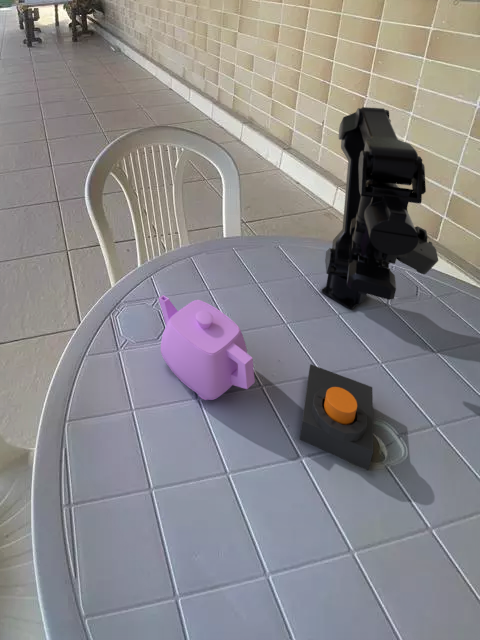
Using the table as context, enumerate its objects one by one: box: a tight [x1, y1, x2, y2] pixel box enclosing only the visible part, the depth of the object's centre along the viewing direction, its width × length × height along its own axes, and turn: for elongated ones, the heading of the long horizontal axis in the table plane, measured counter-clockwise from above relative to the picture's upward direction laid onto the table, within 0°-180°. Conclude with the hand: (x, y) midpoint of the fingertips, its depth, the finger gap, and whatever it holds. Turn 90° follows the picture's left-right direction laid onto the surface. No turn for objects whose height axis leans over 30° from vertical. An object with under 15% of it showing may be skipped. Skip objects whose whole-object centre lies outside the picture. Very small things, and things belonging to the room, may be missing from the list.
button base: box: [299, 364, 374, 471], centre depth 66 cm, size 11×9×6 cm
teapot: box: [158, 294, 256, 401], centre depth 75 cm, size 20×12×13 cm, turn 37°
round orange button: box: [324, 387, 357, 425], centre depth 63 cm, size 4×4×3 cm
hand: (362, 292), depth 75 cm, fingers closed
